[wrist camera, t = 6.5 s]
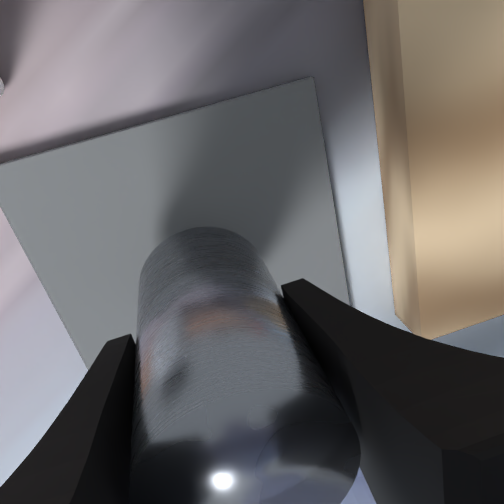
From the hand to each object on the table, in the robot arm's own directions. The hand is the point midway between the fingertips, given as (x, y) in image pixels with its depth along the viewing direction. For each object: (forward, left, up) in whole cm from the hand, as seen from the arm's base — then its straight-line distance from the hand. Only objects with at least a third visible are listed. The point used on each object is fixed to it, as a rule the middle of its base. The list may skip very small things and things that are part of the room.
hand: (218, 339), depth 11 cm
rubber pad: (0, 0, -5) cm, 5 cm away
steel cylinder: (0, 0, -3) cm, 3 cm away
